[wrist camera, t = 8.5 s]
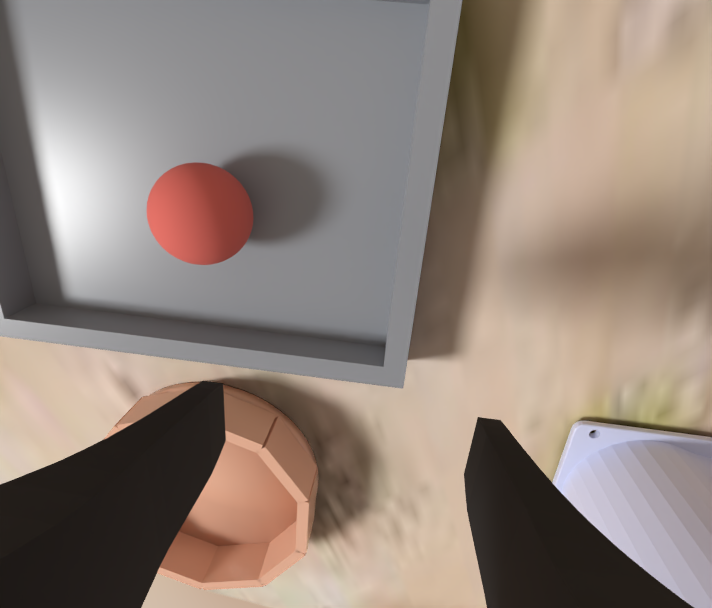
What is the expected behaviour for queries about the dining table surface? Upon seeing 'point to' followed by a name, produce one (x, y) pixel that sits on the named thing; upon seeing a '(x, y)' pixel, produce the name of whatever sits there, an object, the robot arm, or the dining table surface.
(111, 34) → the tray
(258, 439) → the pink bowl
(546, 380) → the dining table surface
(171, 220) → the ball
